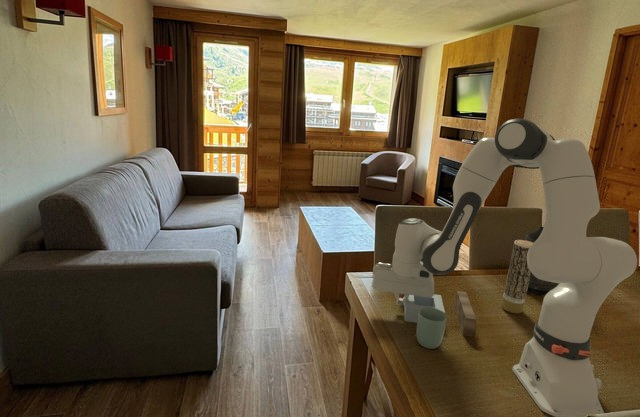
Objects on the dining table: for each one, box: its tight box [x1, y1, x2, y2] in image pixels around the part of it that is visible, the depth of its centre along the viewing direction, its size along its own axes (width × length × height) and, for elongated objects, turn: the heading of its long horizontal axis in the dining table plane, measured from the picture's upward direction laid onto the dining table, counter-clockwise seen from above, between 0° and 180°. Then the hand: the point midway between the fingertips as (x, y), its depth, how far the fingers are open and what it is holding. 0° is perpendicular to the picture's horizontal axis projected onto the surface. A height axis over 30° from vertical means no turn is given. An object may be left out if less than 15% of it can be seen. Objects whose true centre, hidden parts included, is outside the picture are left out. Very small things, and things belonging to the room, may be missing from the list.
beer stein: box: [525, 226, 559, 296], centre depth 148 cm, size 16×19×25 cm
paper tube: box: [501, 239, 533, 314], centre depth 130 cm, size 7×7×25 cm
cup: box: [415, 307, 447, 350], centre depth 109 cm, size 8×8×10 cm
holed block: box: [403, 293, 446, 324], centre depth 126 cm, size 12×12×5 cm
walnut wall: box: [454, 290, 477, 337], centre depth 124 cm, size 18×3×6 cm, turn 169°
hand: (400, 304), depth 127 cm, fingers closed
